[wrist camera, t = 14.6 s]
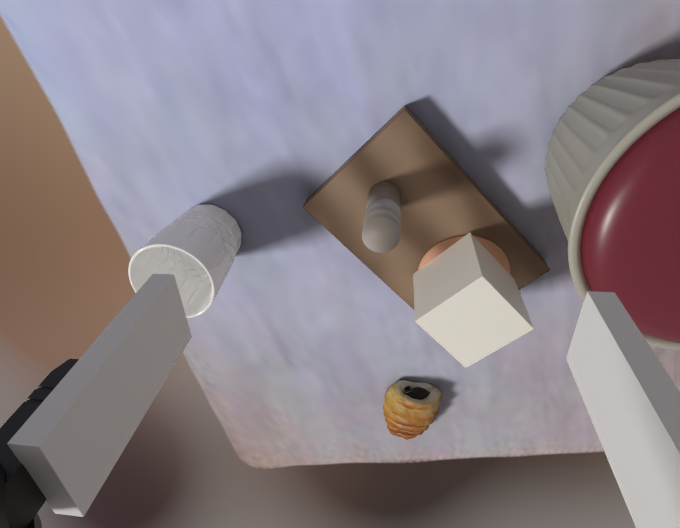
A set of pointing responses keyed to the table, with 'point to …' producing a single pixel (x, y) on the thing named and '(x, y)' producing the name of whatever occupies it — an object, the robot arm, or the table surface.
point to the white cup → (191, 255)
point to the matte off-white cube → (469, 302)
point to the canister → (624, 193)
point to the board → (414, 208)
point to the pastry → (410, 407)
